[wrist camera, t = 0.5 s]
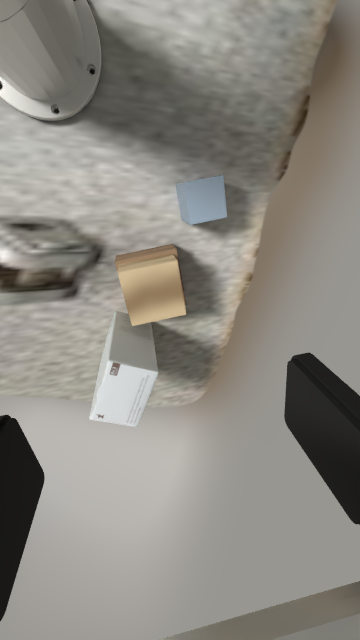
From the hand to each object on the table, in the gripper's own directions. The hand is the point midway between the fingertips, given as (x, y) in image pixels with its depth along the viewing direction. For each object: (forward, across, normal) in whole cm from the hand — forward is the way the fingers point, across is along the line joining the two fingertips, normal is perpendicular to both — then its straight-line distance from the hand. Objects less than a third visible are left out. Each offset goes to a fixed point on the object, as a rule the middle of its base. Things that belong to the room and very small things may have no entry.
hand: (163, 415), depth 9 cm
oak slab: (+28, -1, +4) cm, 28 cm away
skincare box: (+32, +4, +13) cm, 35 cm away
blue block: (+32, -9, -5) cm, 33 cm away
